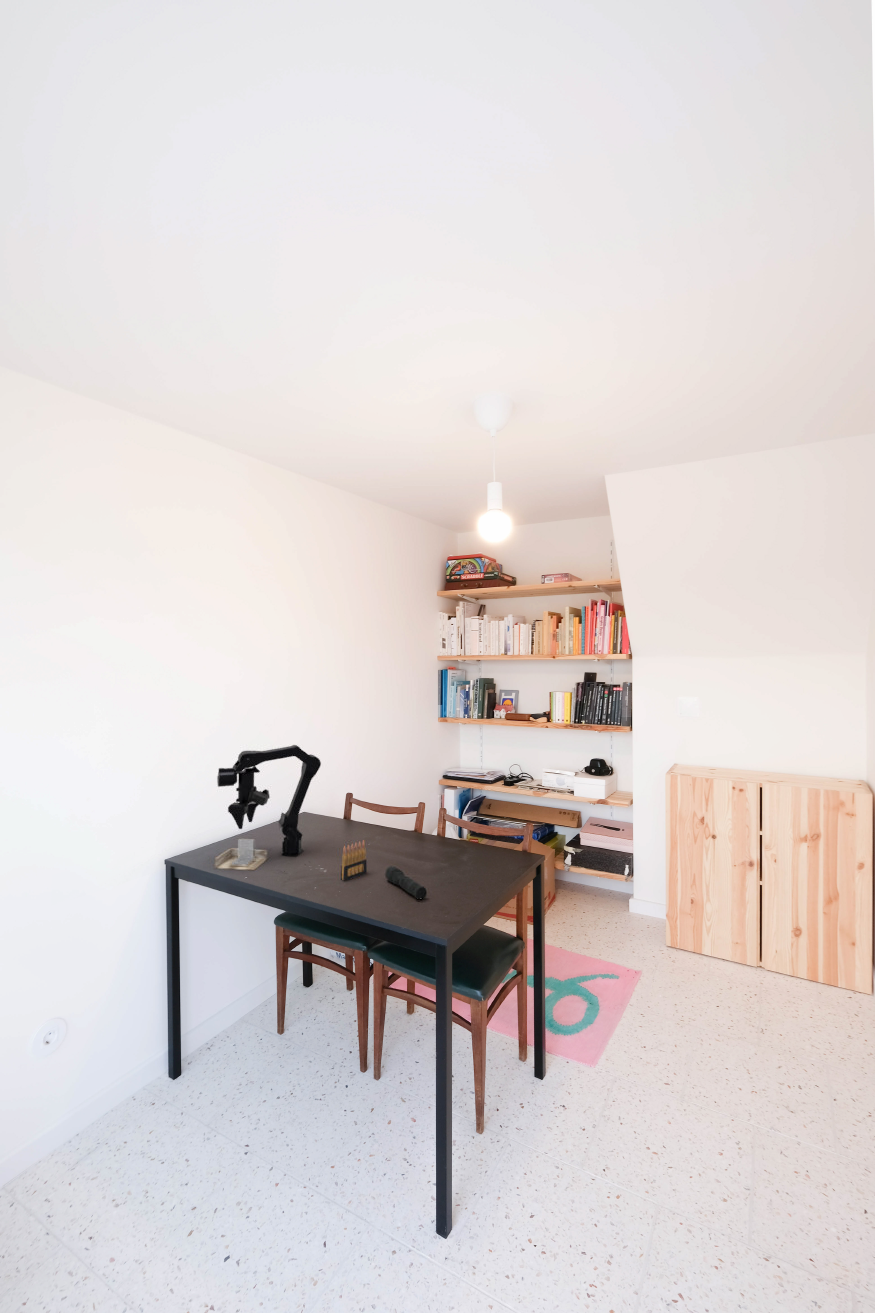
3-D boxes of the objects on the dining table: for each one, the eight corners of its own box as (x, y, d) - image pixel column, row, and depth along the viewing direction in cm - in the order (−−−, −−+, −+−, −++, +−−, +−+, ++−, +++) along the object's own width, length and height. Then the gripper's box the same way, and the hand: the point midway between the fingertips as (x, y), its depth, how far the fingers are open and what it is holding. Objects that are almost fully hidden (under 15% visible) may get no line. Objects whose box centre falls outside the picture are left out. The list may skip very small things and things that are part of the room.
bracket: (239, 859, 221) (239, 838, 221) (254, 860, 221) (255, 839, 221) (231, 866, 215) (231, 844, 215) (247, 866, 214) (247, 845, 214)
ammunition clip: (343, 881, 203) (344, 847, 203) (340, 880, 204) (340, 845, 204) (366, 873, 211) (367, 840, 211) (363, 872, 212) (363, 839, 212)
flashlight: (396, 878, 207) (397, 864, 207) (427, 899, 190) (428, 884, 190) (384, 881, 204) (384, 867, 204) (414, 903, 187) (414, 887, 187)
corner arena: (267, 859, 224) (267, 850, 224) (254, 870, 212) (254, 861, 212) (229, 857, 225) (230, 848, 225) (214, 868, 214) (214, 858, 214)
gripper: (257, 790, 213) (256, 833, 213) (275, 780, 232) (274, 819, 232) (227, 789, 214) (227, 832, 214) (248, 779, 233) (247, 818, 233)
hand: (245, 825), depth 223 cm, fingers open, 9 cm apart
